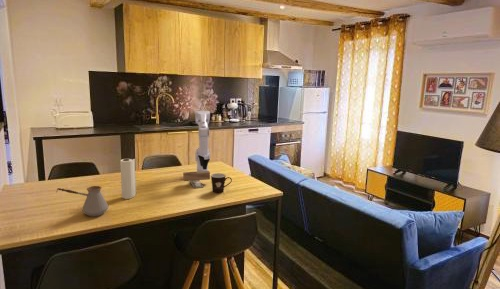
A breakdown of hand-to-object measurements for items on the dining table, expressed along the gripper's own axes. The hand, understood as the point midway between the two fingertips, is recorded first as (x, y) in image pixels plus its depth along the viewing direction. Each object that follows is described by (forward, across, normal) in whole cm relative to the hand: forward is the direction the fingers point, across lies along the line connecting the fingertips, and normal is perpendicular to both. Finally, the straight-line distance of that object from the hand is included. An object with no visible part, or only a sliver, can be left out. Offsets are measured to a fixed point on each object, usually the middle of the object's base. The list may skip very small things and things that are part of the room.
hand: (203, 167), depth 208 cm
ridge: (+10, -3, +5) cm, 11 cm away
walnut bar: (+7, -3, +5) cm, 9 cm away
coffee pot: (+10, -36, +64) cm, 74 cm away
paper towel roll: (+10, -16, +45) cm, 49 cm away
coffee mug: (+10, -20, -6) cm, 23 cm away
